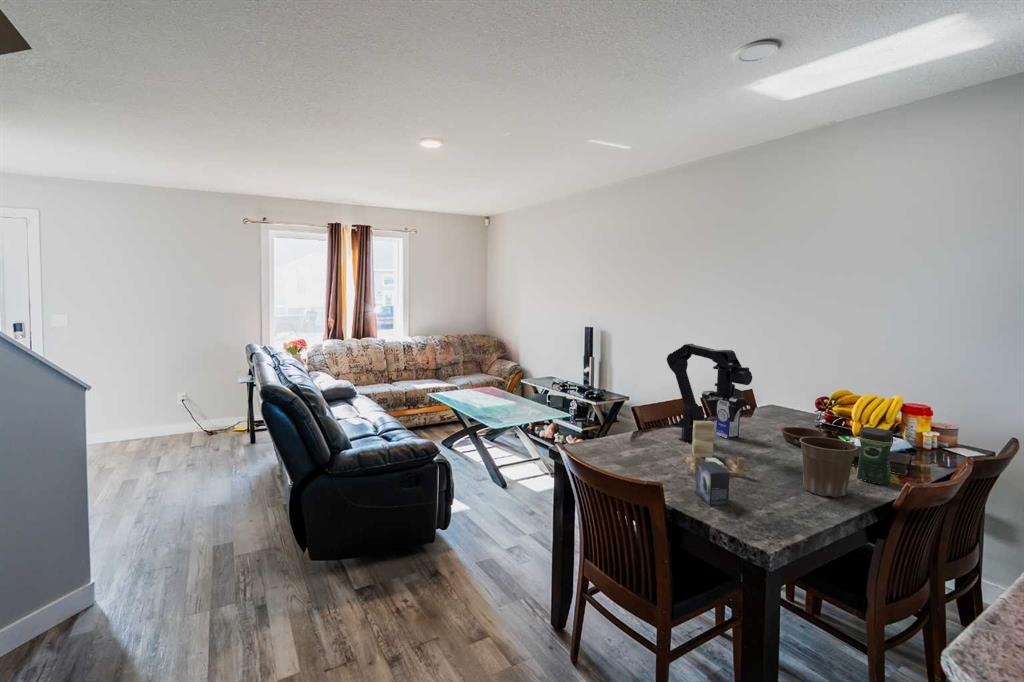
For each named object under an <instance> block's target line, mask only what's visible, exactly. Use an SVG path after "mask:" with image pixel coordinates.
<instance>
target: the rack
mask: <svg viewBox="0 0 1024 682" xmlns="http://www.w3.org/2000/svg"><path fill="white" fill-rule="evenodd" d="M693 457H694V458H693V459H692V457H691V456H690V454H684V461H685V462H686V464H687V465H688V467H689V468H690V469H691V471H692V472H693V474H694V475H695V476H696V466H697V462H702V457H700V456H696V455H694V456H693ZM723 462H724V464H726V466H727V467H729V469H731V470H728V472H730V477H741V478H744V471H745V470H744V469H745V458H744V457H742V456H741V457H739V456H738V457H737V458H736V463H735V462H734V461H733V460H732V459H731V458H730V457H729V456H727V455H724V456H723Z"/></svg>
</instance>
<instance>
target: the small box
mask: <svg viewBox="0 0 1024 682" xmlns="http://www.w3.org/2000/svg"><path fill="white" fill-rule="evenodd" d="M728 471H729V470H728ZM728 471H727V470H726V469H724V468H723V467H721V466H720V465H719V464H717V463H716V462H714V461H712V462H705V461H701V462H697V466H696V475H695V494H696V495H697V496H699V498H701V500H702V501H704V502H705V503H706V504H707V505H708V506H709V507H718V506H719V507H720V506H723V507H724V506H726V507H727V506H729V505H730V500H729V499H730V498H729V494H730V478H731V476H730V472H728Z"/></svg>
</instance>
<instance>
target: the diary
mask: <svg viewBox="0 0 1024 682" xmlns="http://www.w3.org/2000/svg"><path fill="white" fill-rule="evenodd" d="M856 446H857V447H858V449H857V450H856V451H855V456H854V460H853V461H852V464H854V465H858V463H859V457H860V450H861V445H856ZM912 458H913V455H912V454H910V453H904V452H897V451H890V471H891V472H895V473H901V474H904V473H905V471H906V468H907V467H908V466H907V465H909V464H910V465H909V466H911V465H912V460H913V459H912ZM907 469H908V468H907Z"/></svg>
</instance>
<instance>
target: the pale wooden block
mask: <svg viewBox="0 0 1024 682" xmlns="http://www.w3.org/2000/svg"><path fill="white" fill-rule="evenodd" d="M714 436H715V423H714V422H713V421H711V420H704V421H693V439H692V443H691V455H692V456H693V457H694V455H696V456H700V457H701V458H714V457H713V453H714V439H715V437H714Z"/></svg>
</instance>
